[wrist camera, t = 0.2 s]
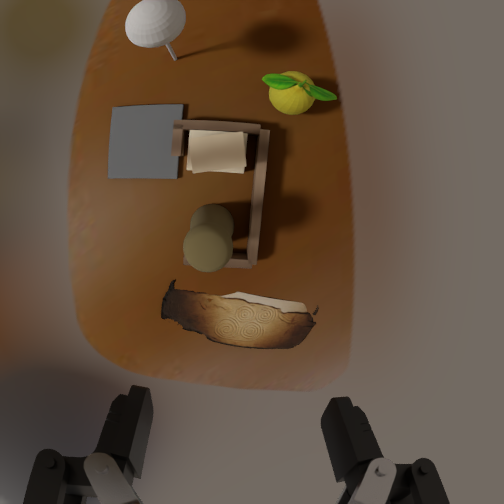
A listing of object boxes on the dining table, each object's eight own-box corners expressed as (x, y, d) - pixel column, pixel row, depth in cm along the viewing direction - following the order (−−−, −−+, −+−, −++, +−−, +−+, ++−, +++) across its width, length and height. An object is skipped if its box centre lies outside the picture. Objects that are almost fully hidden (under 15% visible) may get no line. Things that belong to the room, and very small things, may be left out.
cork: (243, 220, 37) (250, 245, 27) (218, 254, 39) (215, 291, 28) (206, 195, 36) (197, 210, 25) (181, 231, 37) (165, 260, 27)
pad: (114, 108, 30) (112, 107, 30) (183, 105, 31) (183, 104, 31) (109, 178, 33) (107, 178, 33) (177, 178, 34) (176, 178, 34)
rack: (177, 122, 32) (174, 119, 30) (267, 127, 33) (270, 125, 31) (171, 257, 38) (168, 263, 36) (254, 261, 39) (256, 268, 37)
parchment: (321, 305, 43) (323, 307, 42) (302, 352, 46) (303, 355, 45) (167, 274, 39) (165, 276, 39) (160, 328, 42) (159, 330, 41)
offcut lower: (192, 132, 33) (189, 129, 30) (245, 135, 34) (247, 133, 31) (189, 168, 35) (186, 169, 32) (242, 172, 35) (243, 173, 33)
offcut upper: (191, 140, 31) (188, 138, 28) (241, 133, 31) (242, 131, 28) (195, 172, 32) (192, 173, 29) (244, 165, 32) (246, 166, 29)
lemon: (318, 108, 33) (348, 94, 23) (284, 129, 34) (305, 120, 24) (289, 70, 31) (310, 43, 21) (254, 90, 31) (264, 68, 22)
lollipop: (193, 79, 30) (173, 33, 16) (150, 78, 29) (109, 39, 15) (200, 41, 28) (188, -17, 14) (159, 41, 27) (127, -12, 13)
